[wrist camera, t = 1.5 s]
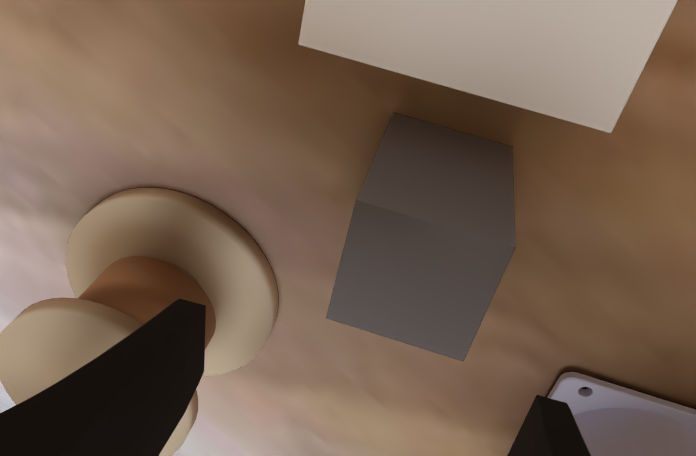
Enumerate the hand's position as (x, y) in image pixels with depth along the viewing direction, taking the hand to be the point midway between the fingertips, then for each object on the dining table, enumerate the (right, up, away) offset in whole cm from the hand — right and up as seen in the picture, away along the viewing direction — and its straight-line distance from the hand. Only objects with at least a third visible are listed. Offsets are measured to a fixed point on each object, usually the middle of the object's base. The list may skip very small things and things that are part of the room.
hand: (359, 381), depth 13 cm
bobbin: (-8, +1, +13) cm, 15 cm away
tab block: (+3, +5, +8) cm, 10 cm away
